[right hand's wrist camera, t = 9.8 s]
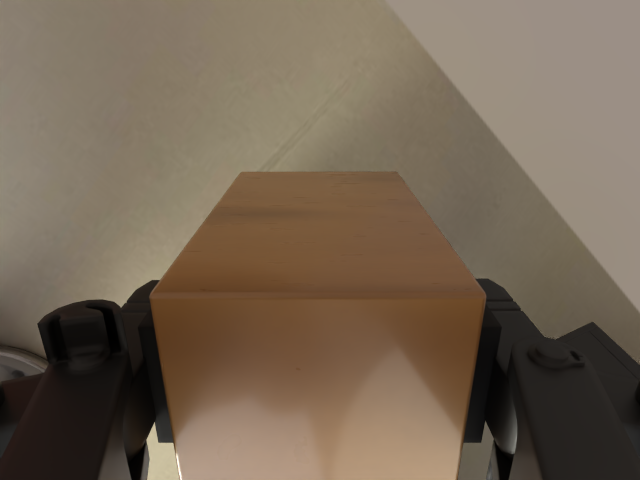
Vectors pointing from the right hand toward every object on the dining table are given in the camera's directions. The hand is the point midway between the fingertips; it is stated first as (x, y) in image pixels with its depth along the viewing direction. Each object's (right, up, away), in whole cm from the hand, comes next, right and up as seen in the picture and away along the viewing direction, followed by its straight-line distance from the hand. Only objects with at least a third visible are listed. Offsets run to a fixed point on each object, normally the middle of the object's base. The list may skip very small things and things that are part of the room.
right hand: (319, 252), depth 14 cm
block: (0, 0, +1) cm, 1 cm away
